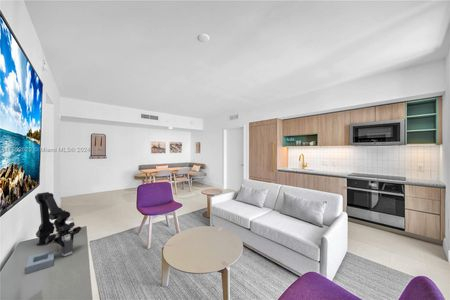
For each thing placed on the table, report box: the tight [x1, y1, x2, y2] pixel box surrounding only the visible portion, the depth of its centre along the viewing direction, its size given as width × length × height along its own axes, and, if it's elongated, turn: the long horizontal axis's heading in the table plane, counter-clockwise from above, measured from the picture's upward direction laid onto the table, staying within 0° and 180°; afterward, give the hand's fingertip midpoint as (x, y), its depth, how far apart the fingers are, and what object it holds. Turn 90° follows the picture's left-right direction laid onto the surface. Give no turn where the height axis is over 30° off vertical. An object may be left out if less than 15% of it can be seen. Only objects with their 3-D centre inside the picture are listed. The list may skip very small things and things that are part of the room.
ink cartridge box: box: [62, 217, 75, 238], centre depth 148 cm, size 9×5×15 cm, turn 84°
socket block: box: [24, 249, 55, 275], centre depth 111 cm, size 14×12×4 cm
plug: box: [60, 235, 74, 257], centre depth 122 cm, size 4×4×12 cm
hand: (68, 245), depth 122 cm, fingers closed on plug, 4 cm apart
